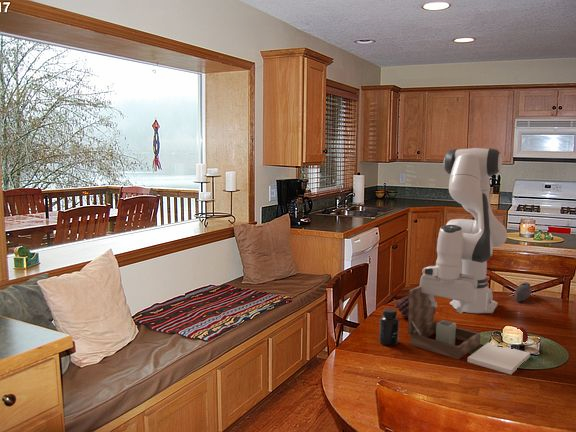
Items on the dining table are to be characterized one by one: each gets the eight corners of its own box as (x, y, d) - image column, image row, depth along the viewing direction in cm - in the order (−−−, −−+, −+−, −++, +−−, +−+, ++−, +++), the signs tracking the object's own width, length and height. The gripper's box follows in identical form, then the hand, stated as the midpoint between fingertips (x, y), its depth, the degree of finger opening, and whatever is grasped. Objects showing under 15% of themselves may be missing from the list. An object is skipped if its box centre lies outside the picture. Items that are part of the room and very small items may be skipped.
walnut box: (430, 330, 199) (433, 280, 196) (479, 343, 186) (483, 290, 183) (407, 344, 185) (409, 290, 183) (458, 359, 173) (461, 301, 170)
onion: (513, 342, 188) (515, 320, 187) (529, 346, 184) (531, 325, 183) (506, 346, 184) (508, 324, 183) (523, 351, 180) (525, 329, 179)
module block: (441, 340, 189) (442, 318, 188) (454, 344, 185) (456, 321, 184) (435, 344, 185) (436, 322, 184) (448, 348, 182) (449, 325, 181)
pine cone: (438, 320, 211) (439, 296, 209) (428, 326, 203) (429, 302, 202) (398, 311, 222) (399, 288, 220) (387, 317, 214) (388, 293, 212)
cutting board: (488, 346, 184) (488, 342, 184) (529, 357, 175) (530, 352, 174) (467, 361, 171) (467, 357, 170) (510, 374, 161) (511, 370, 161)
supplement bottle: (398, 346, 183) (399, 314, 181) (378, 345, 184) (379, 312, 183) (398, 339, 190) (399, 308, 188) (379, 338, 191) (380, 306, 189)
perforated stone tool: (522, 304, 232) (523, 289, 231) (510, 302, 235) (511, 287, 234) (532, 297, 243) (533, 282, 242) (520, 295, 246) (521, 280, 246)
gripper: (481, 275, 177) (479, 314, 179) (426, 265, 190) (424, 302, 192) (474, 278, 172) (471, 318, 174) (418, 268, 186) (416, 305, 187)
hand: (446, 309), depth 183 cm, fingers open, 8 cm apart
